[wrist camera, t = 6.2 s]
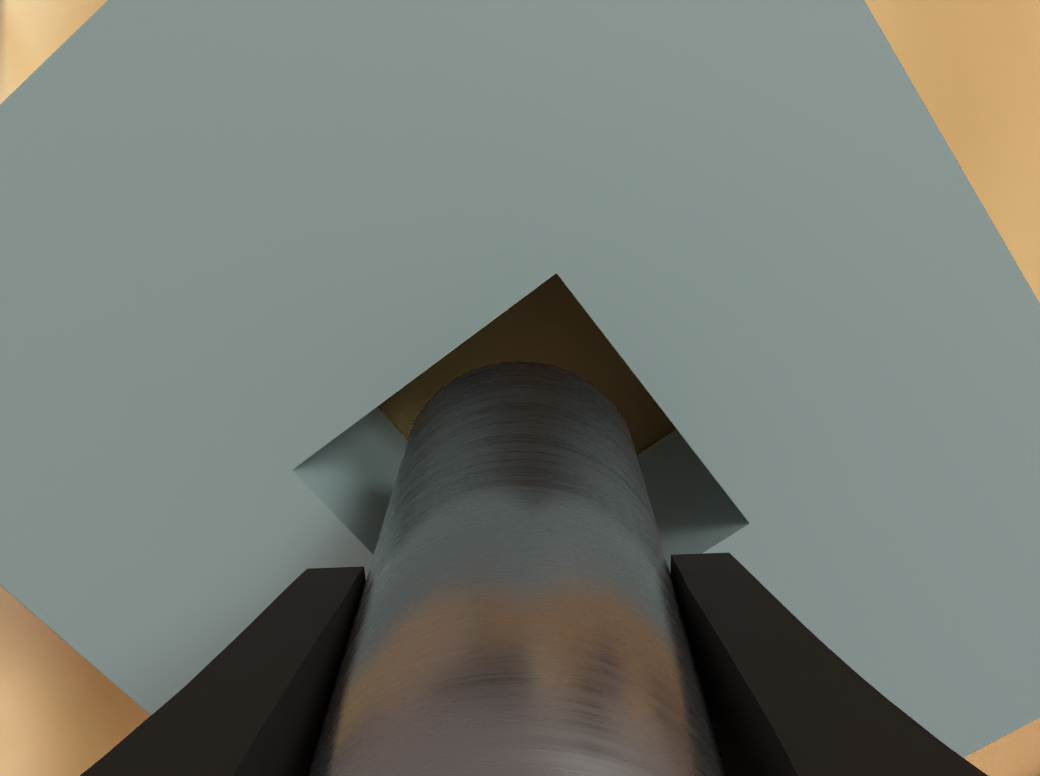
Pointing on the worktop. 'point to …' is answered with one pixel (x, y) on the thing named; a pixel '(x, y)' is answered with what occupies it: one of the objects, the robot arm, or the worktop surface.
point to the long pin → (519, 601)
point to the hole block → (494, 289)
